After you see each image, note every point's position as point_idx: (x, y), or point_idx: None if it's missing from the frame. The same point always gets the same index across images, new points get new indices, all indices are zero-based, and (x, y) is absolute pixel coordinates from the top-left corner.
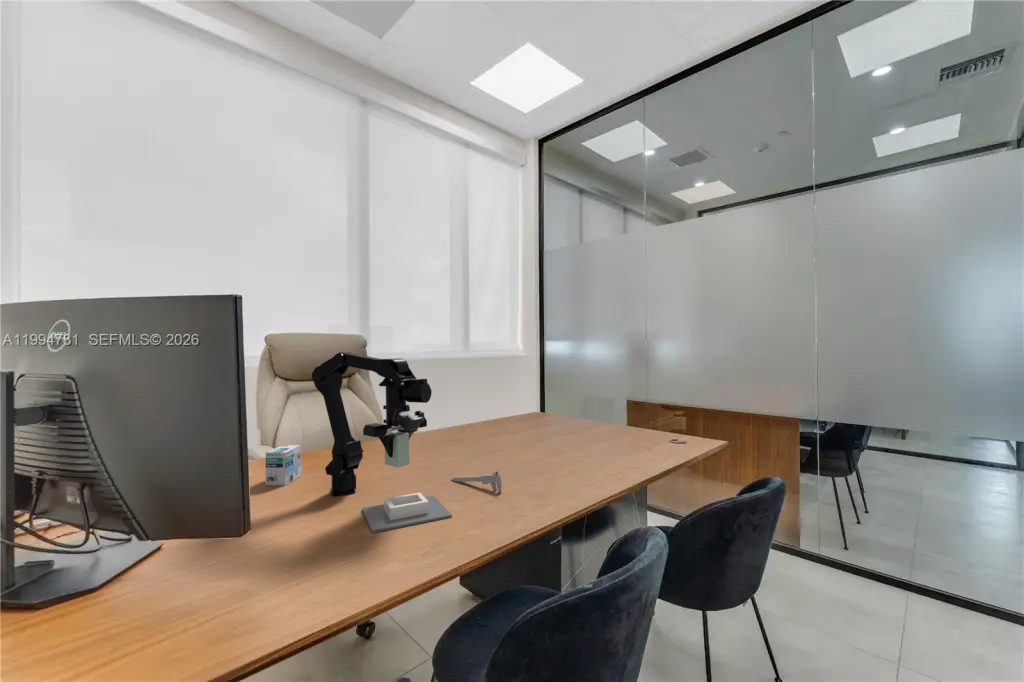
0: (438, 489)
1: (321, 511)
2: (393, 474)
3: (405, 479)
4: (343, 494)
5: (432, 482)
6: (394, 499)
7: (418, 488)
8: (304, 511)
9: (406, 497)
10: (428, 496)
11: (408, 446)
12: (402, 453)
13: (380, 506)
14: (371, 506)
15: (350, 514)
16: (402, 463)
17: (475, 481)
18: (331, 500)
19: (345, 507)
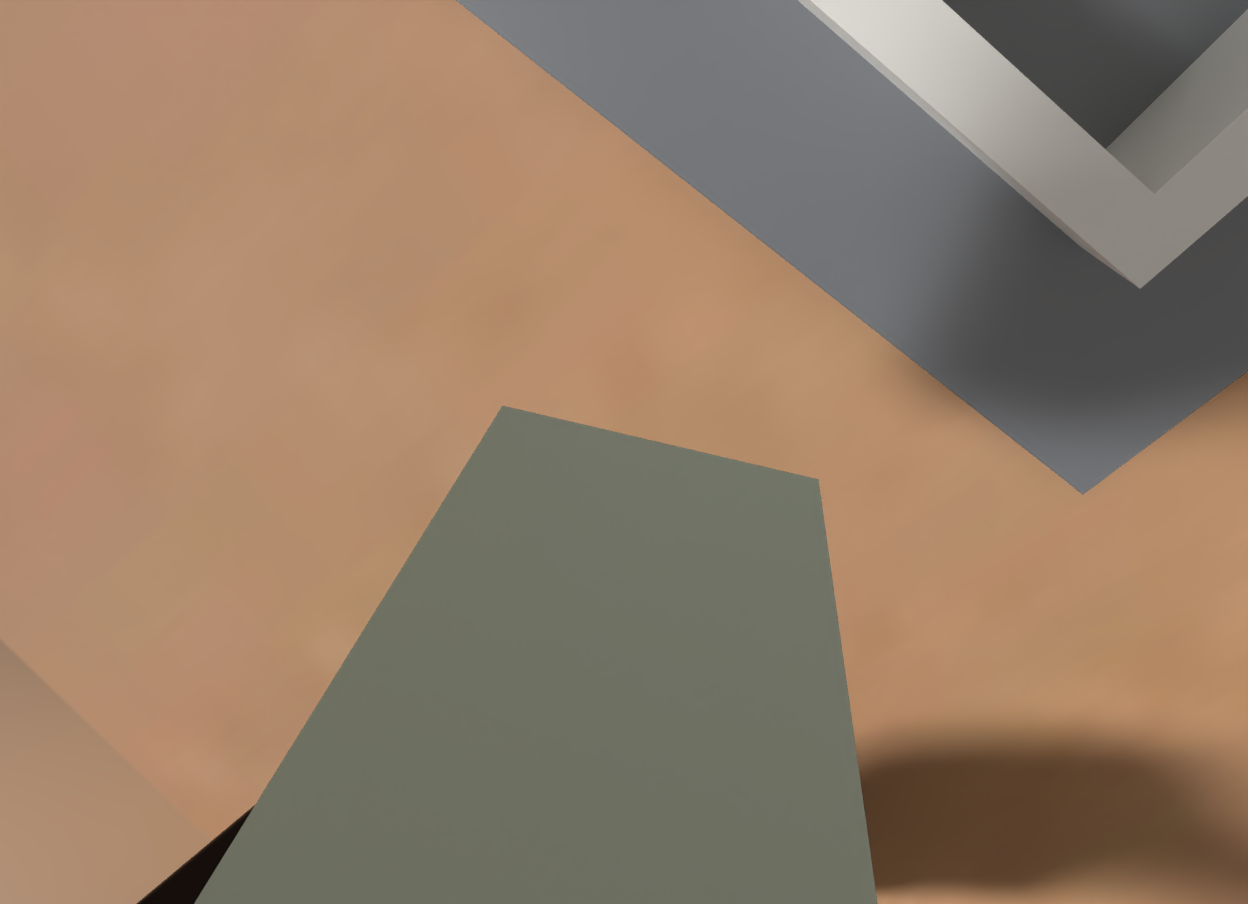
0: (182, 110)
1: (1174, 749)
2: (222, 738)
3: (230, 601)
4: None
5: (94, 327)
6: (1095, 142)
7: (311, 352)
8: (1196, 841)
9: (959, 18)
10: (471, 4)
11: (314, 761)
12: (656, 666)
13: (991, 351)
14: (1018, 437)
15: (1208, 512)
16: (691, 483)
17: None
18: (917, 809)
19: (1037, 647)
